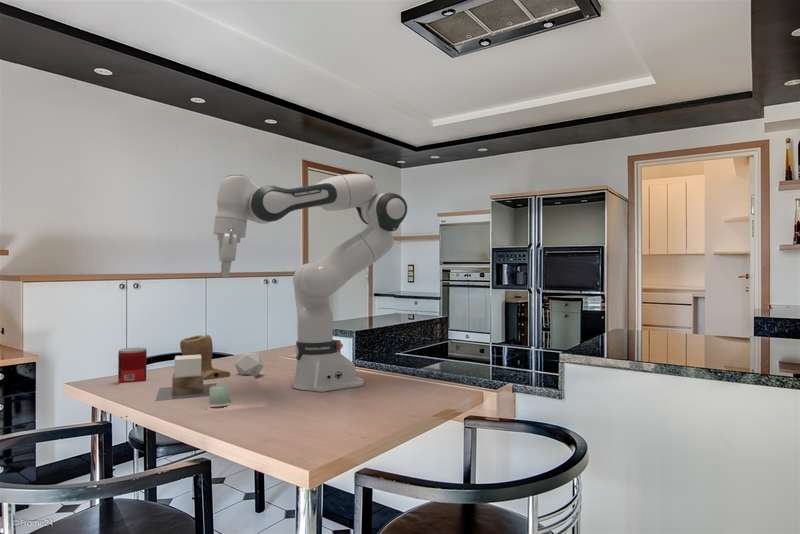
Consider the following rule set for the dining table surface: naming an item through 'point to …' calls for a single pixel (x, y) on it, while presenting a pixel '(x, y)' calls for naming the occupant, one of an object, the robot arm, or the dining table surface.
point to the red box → (132, 365)
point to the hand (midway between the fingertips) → (224, 277)
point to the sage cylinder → (219, 395)
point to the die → (249, 364)
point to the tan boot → (202, 355)
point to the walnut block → (187, 385)
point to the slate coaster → (167, 395)
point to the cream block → (187, 366)
